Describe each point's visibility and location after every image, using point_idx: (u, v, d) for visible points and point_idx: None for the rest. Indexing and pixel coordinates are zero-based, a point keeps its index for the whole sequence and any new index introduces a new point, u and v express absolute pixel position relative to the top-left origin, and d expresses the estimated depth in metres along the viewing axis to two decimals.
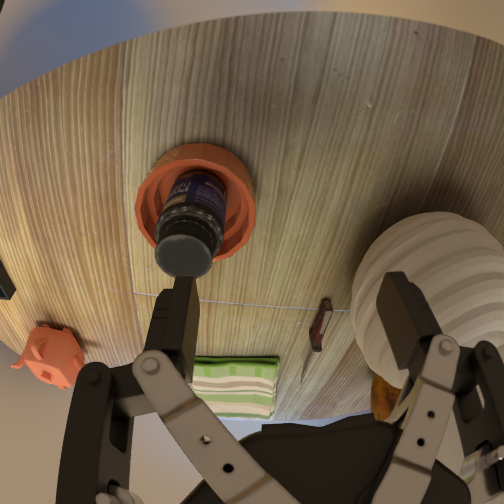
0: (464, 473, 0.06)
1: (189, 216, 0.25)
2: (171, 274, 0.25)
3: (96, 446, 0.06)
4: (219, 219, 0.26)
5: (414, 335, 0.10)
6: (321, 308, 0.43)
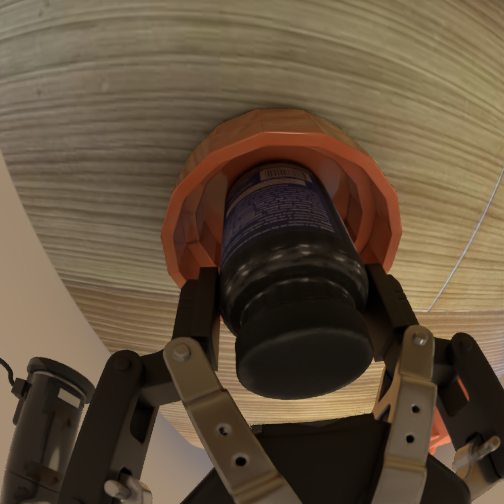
0: (458, 467, 0.06)
1: (233, 312, 0.11)
2: (345, 383, 0.10)
3: (115, 434, 0.06)
4: (263, 240, 0.11)
5: (388, 326, 0.10)
6: None
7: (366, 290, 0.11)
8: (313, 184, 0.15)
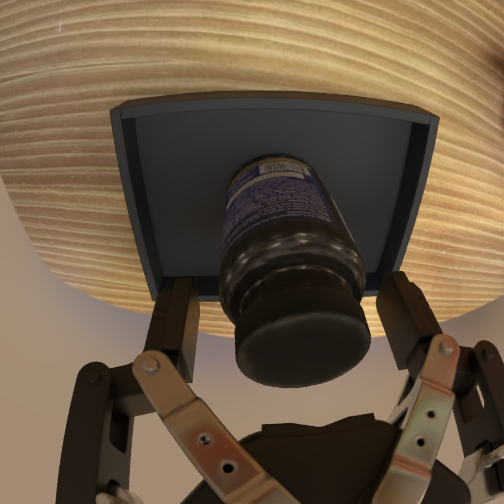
0: (464, 473, 0.06)
1: (233, 300, 0.12)
2: (343, 371, 0.11)
3: (96, 446, 0.06)
4: (261, 229, 0.11)
5: (414, 335, 0.10)
6: None
7: (363, 279, 0.11)
8: (311, 177, 0.15)
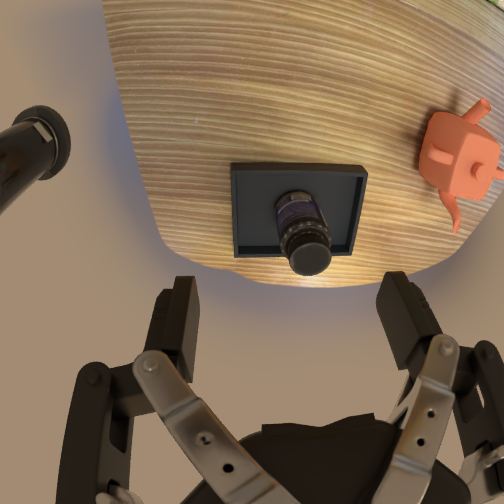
0: (464, 473, 0.06)
1: (286, 244, 0.35)
2: (323, 268, 0.34)
3: (96, 446, 0.06)
4: (296, 220, 0.34)
5: (414, 335, 0.10)
6: None
7: (329, 237, 0.35)
8: (311, 201, 0.38)
